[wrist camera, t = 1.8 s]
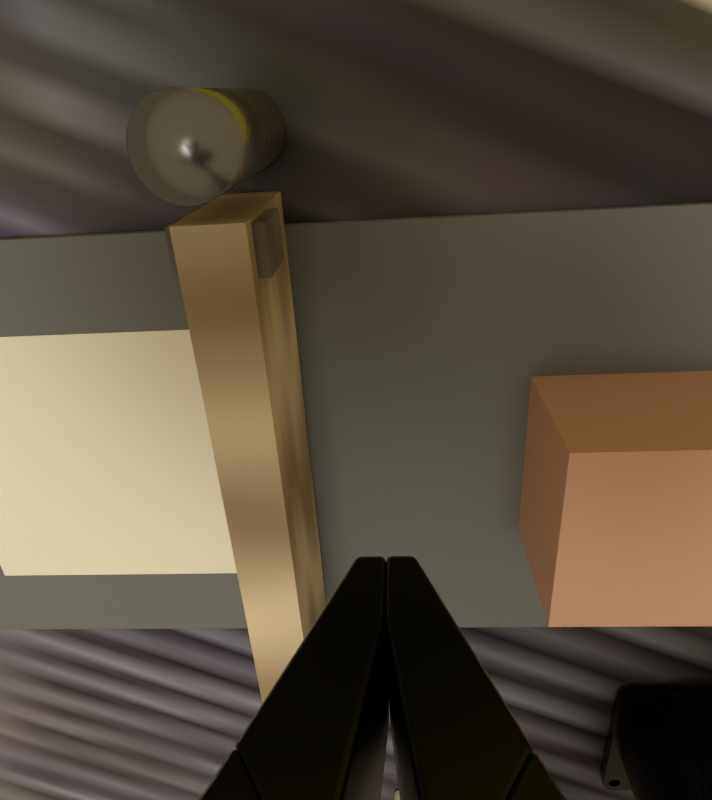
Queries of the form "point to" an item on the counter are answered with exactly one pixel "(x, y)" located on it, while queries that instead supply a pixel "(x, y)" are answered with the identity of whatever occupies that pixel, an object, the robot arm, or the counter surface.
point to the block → (620, 498)
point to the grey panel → (319, 401)
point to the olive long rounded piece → (202, 141)
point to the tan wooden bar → (254, 412)
